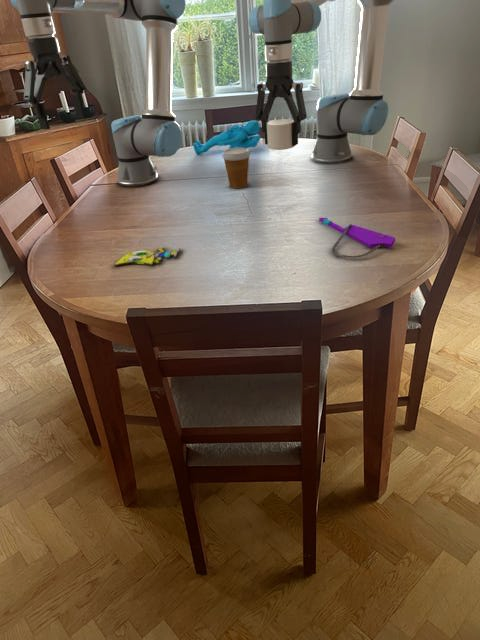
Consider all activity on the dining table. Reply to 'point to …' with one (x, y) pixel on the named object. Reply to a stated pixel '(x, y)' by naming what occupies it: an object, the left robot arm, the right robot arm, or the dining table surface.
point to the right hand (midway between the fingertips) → (281, 144)
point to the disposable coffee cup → (237, 166)
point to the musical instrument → (361, 237)
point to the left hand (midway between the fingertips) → (64, 123)
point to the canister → (279, 134)
